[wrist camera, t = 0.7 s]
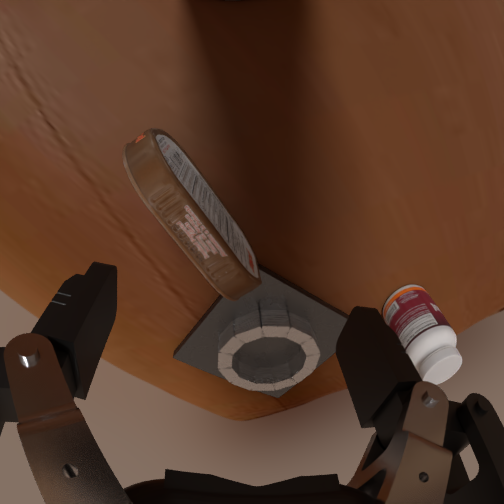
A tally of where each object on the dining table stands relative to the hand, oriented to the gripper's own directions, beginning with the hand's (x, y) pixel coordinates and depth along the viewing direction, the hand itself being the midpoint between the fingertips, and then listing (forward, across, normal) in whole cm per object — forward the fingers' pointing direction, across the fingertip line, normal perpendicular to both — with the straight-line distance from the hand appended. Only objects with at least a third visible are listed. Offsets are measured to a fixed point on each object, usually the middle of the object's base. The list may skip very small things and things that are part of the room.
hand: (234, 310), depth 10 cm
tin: (+19, +2, +2) cm, 19 cm away
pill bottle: (+19, -23, +10) cm, 32 cm away
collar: (+19, -8, +18) cm, 28 cm away
